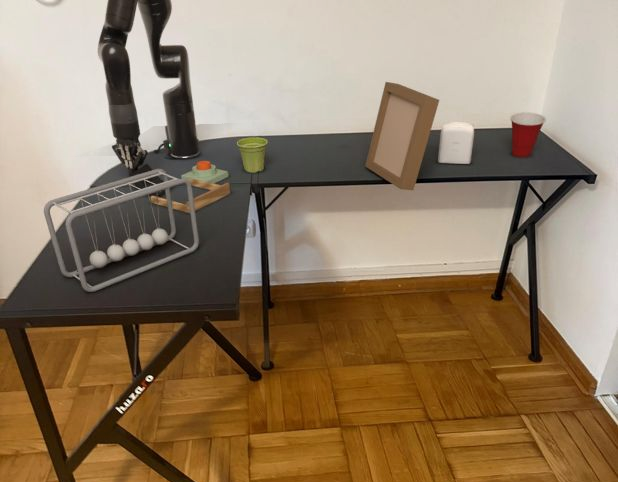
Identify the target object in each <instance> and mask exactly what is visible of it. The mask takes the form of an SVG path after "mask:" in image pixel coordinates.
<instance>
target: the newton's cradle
mask: <svg viewBox="0 0 618 482" xmlns="http://www.w3.org/2000/svg"><path fill="white" fill-rule="evenodd" d="M155 176H158V177H159V176H162V180H164V182H163V183H160V184H157V185H156V184H155V185H153V186H150V187H146V188H144V189H140V190H139V188H137V187H136V185H134V183H135V182H139V181H142V180H144V182H145V179H149V178H152V177H155ZM169 178H170V179H169ZM168 180H169V181H168ZM146 181H147V180H146ZM148 182H149V181H148ZM150 183H151V182H150ZM153 184H154V183H153ZM180 185H185V186H186V192H187V200H188V201H189V207H190V213H189V214H190V221H191V229H192V234H193V244H192V246H190V247H188V246H186V245H184V244H182V243H181V242H178V241H176V240H175V239H174V238H175V236H176V234H177V226H176V220H175V214H174V209H173V206H172V201H173V199H172V194H171V189H172V188H174V187H177V186H180ZM125 186H129V187H128V188H129V189H130V192H128V193H124V192H122V191H119V190H118V189H119V188H122V187H125ZM145 186H146V183H145ZM132 187H134V188H136V189H137V190H135V191H132ZM171 187H172V188H171ZM170 188H171V189H170ZM112 190H113V192H114V193H113V194H114V196H115V197H112V198H107V197H105V196H104V195H101V194H102V193H105V192H108V191H112ZM162 190H165V199H167V205H168V207H167V211H168V218H169V223H170V230H171V231H170V234H169V235H168V232H167V231H166V230H165V229H163V228H161V227H160V225H158V223H157V220H158V222H160V212H159V211H160V210H159V208H157V218H158V219H156V217H155V212H154V209H153V206H152V203H151V196H149V194H152V193H155V192H159V191H162ZM116 192H118V193H121V194H122V195H119V196H117V194H116ZM193 192H194V191H193V186H192V185H191V183H190V181H189V180H187V179H184V178H183V179H182V178H177V177H175V176H172V175H169V174H168V173H167V172H166V171H165V169H162V168H156V169H152V171H149V172H145V173H142V174H138V175H135V176H132V177H129V176H128V177H126V178H122V179H118V180H114V181H111V182H108V183H104V184H101V185H98V186H95V187H94V186H93V187H92V188H87V189H84V190H81V191H78V192H74V193H71V194H68V195H63V196H61V197H57V198H54V199H51V200H49V201H47V202H46V204H45V205H44V207H43V215H44V219H45V221H46V225H47V227H48V228H47V229H48V232H49V235H50V238H51V243H52V246H53V249H54V253H55V256H56V259H57V263H58V267H59V271H60V272H61V274H62V275H63V276H64V277H66V278H76V279H77V280H78V281H80V285H81V287H82V289H83V290H84V291H85V292H87V293H95V292H97V291H100V290H102V289H105V288H107V287H110V286H112V285H115V284H117V283H120V282H122V281H124V280H127V279H130V278H133V277H135V276H137V275H139V274H142V273H144V272H147V271H149V270H152V269H155V268H157V267H159V266H162V265H165V264H166V263H170V262H171V261H174V260H177V259H180V258H182V257H184V256H186V255H189V254H192V253H194V252H195V251H196V250H197V249H198V247H199V245H200V237H199V232H198V231H199V230H198V223H197V216H196V211H195V207H194V193H193ZM95 195H97V198H98V201H99V202H96V203H93V204H92V203H90V202H88V201H87V200H85V198H89V197H92V196H95ZM146 195H148V196H147V197H148V199H149V203H150V207H151V209H152V210H151V211H152V214H153V218H154V222H155V225H156V228H155V229H154V230H153V231H152V232H151V234H149V233H146V223H145V222H143V225H142V222H141V219H140V215H139V213H138V209H137V205H136V202H135V200H136V199H139V198H140V199H141V207H142V208H144V202H143V201H144V200H143V199H144V197H146ZM100 196H101V197H103V199H105V200H102V201H101V200H100ZM79 200H80V202H81V206H82V207H80V208H77V209H74V210H69V209H67V208H65V207H64V206H62V205H66V204H69V203H72V202H76V201H79ZM83 201H84V202H85V203H87V204H89V205H87V206H84V204H83ZM130 201H133V203H134V208H135V211H136V215H137V217H138V221H139V224H140V225H139V226H140V228H141V231H142V234H139V236H138V237H137V240H136V239H134V238H131V237H130V236H131V230H130V221H129V219H130V218H129V211H128V202H130ZM123 203H125V205H126V214H127V223H128V224H127V225H128V231H127V228H126V227H127V226H126V224H125V221H124V217H123V215H122V214H123V213H122V210H121V207H120V205H121V204H123ZM156 205H157V206H159V205H158V193H157V204H156ZM54 206H56V207H57V208H59V209H61V210H62V211H64V212H67V213H68V216H67V217H66V219H65V229H66V233H67V236H68V240H69V244H70V248H71V252H72V255H73V258H74V262H75V267H76V270H73V271H71V272H70V271H67V268H66V264H65V261H64V257H63V254H62V251H61V247H60V244H59V239H58V236H57V234H56V229H55V225H54V222H53V219H52V215H51V208H52V207H54ZM115 206H117V207H118V209H119V213H120V216H121V220H122V223H123V226H124V230H125V233H126V237H127V239H125V240H124V242H123V243H122V246H121V245H120V244H116V239H115V231H114V223H113V213H112V207H115ZM108 208H109V209H110V210H109V211H110V218H111V219H110V220H111V226H112V235H113V238H112V235H111V231H110V228H109V225H108V222H107V218H106V214H105V212H104V210H106V209H108ZM99 211H102V214H103V218H104V221H105V224H106V227H107V231H108V233H109V236H110V240H111V242H112V244H111V245H110V246H109V247H108V248H107V250H106V252H104V251H102V250H99V246H98V238H97V237H98V235H97V227H96V219H95V213H96V212H99ZM144 211H145V210H144V209H142V218H143V220H145V212H144ZM89 214H92V215H93V217H92V218H93V225H94V232H95V241H94V237H93V234H92V230H91V226H90V224H89V220H88V217H87V215H89ZM84 216H85V220H86V222H87V226H88V229H89V232H90V236H91V240H92V242H93V246H94V251H93V252H91V253H90V255H89V262H90V265H87V266H85V267H83V263H82V260H81V255H80V252H79V247H78V244H77V240H76V236H75V233H74V228H73V226H72V225H73V224H72V223H73V221H74V220H75V219H77V218H81V217H84ZM142 226H143V227H142ZM128 233H129V234H128ZM170 241H171V242H174V243H175V244H177V245H179V246H181V247H182V248H185V249H184V250H181V251H179V252H175V253H174V254H171V255H168V256H167V257H164V258H161V259H158V260H156V261H154V262H151V263H149V264H146V265H143V266H141V267H138V268H136V269H133V270H130V271H128V272H126V273H123V274H121V275H119V276H116V277H113V278H111V279H108V280H106V281H103V282H101V283H98V284H96V285H93V286H92V285H91V284H89V283H87V282H88V281H87V278H86V274H85V273H88V272H91V271H93V270H96V269H102V268H105V266H106V265H109V264H112V263H114V262H120V261H122V260H124V259H125V258H127V257H131V256H137V254H138V253H140V252H143V251H149V250H151V249H152V248H153V247H156V246H159V245H160V246H162V245H164V244H166V243H167V242H170ZM95 243H96V244H95ZM77 271H78V272H77Z"/></svg>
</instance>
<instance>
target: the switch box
mask: <svg viewBox="0 0 618 482" xmlns="http://www.w3.org/2000/svg"><path fill="white" fill-rule="evenodd" d="M210 165H211V169H208V170H198V169H197V164H196V165H194V166H192V168H191V171H188V172H186V173H183V174H181V175H180V176H181V179H183V178H184V179H187V180H189V181H190V179H196V180H200V181H205V182H209V183H213V184H217V183H218V182H220V181H222V180H225V179H227V178H229V171H228V170H223V169H219V168H217V166H216V165H215V164H211V163H210Z"/></svg>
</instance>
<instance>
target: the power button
mask: <svg viewBox="0 0 618 482" xmlns="http://www.w3.org/2000/svg"><path fill="white" fill-rule="evenodd" d="M210 164H211V162H210V161H208V160H200V161H198V162H196V165H197V169H198V170H208V169H211V165H210Z"/></svg>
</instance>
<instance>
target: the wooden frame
mask: <svg viewBox="0 0 618 482" xmlns="http://www.w3.org/2000/svg"><path fill="white" fill-rule="evenodd" d="M190 183H191V186H192V187H196V188H200V189H204V190H208V191H206V192H205V193H202V194H200V195H198V196H195V197H193V199H194V207H195V212H196V211H198V210H200V209H202V208H204V207H206V206H207V205H210V204H212V203H214V202H216V201H218V200H220V199H222V198H224V197H226V196H228V195H230V194H231V188H230V183H229V182H225V183H223V184H217V183H214V184H213V183H209V182H205V181H200V180H196V179H190ZM150 201H151V204H154V205H157V197H155V196H150ZM157 206H162V207H165V208H168V205H167V199H166V198H162V197H158V205H157ZM172 206H173V210H176V211H179V212H182V213H183V212H184V213H187V214H190V207H189V200H188V201H186V203H181V202H178V201H175V200H172Z"/></svg>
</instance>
